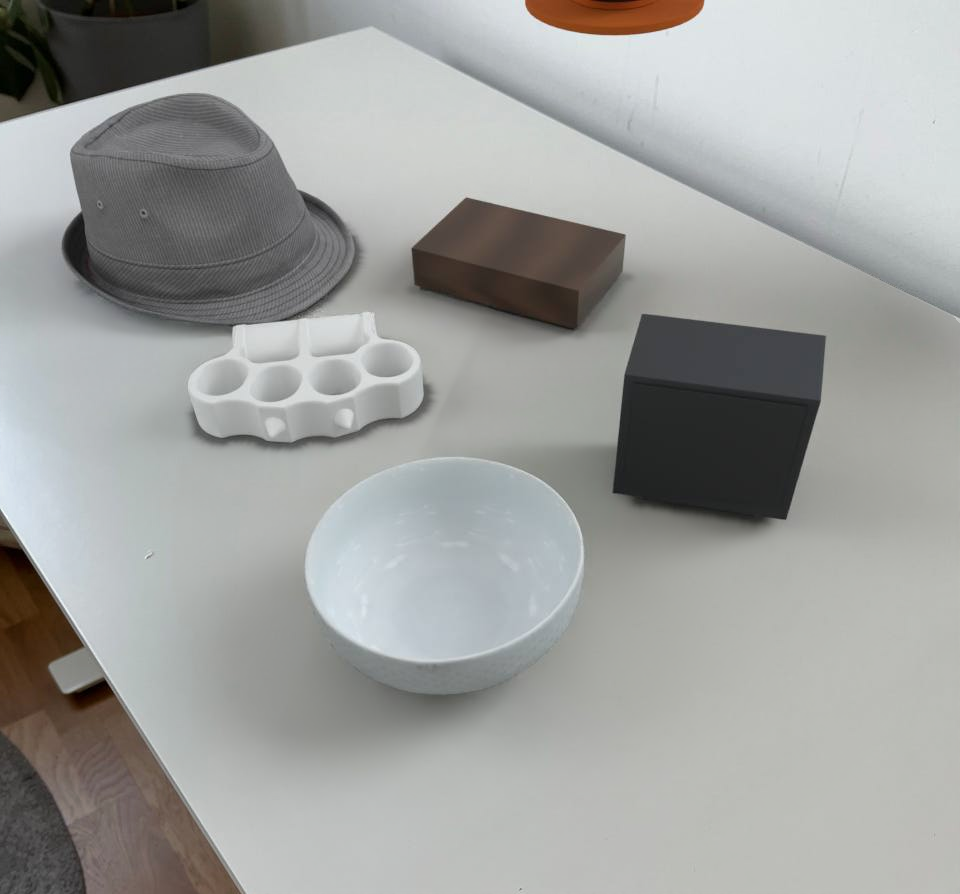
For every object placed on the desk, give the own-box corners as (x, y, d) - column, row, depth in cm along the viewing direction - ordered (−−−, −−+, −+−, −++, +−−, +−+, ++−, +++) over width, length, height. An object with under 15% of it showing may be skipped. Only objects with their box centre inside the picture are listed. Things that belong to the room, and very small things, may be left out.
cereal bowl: (388, 509, 71) (377, 430, 65) (611, 566, 66) (620, 487, 61) (272, 687, 61) (248, 612, 55) (526, 768, 56) (528, 695, 51)
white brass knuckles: (413, 331, 85) (431, 439, 75) (202, 353, 83) (194, 465, 74) (410, 295, 82) (427, 403, 73) (192, 317, 81) (182, 430, 72)
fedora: (239, 366, 82) (202, 223, 72) (14, 280, 92) (-45, 145, 82) (403, 235, 95) (390, 99, 85) (190, 172, 104) (157, 44, 95)
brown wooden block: (622, 276, 89) (626, 234, 86) (576, 333, 84) (578, 290, 81) (467, 237, 94) (465, 196, 91) (414, 289, 89) (411, 247, 86)
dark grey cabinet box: (627, 442, 74) (642, 313, 66) (790, 465, 72) (826, 335, 64) (610, 505, 70) (623, 376, 62) (782, 533, 68) (820, 402, 59)
